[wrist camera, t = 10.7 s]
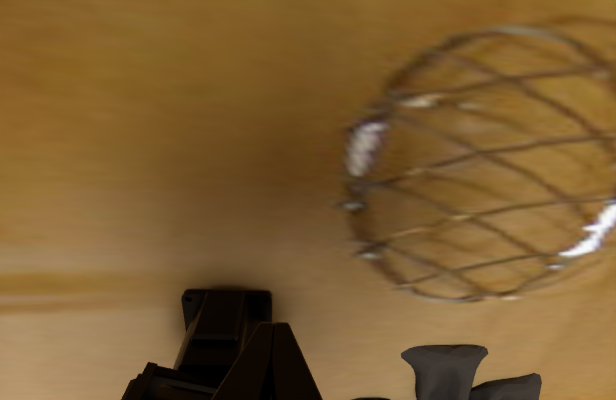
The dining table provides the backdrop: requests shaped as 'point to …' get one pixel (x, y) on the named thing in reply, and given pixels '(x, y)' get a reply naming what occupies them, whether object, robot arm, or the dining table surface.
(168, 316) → the dining table surface
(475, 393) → the cloth
